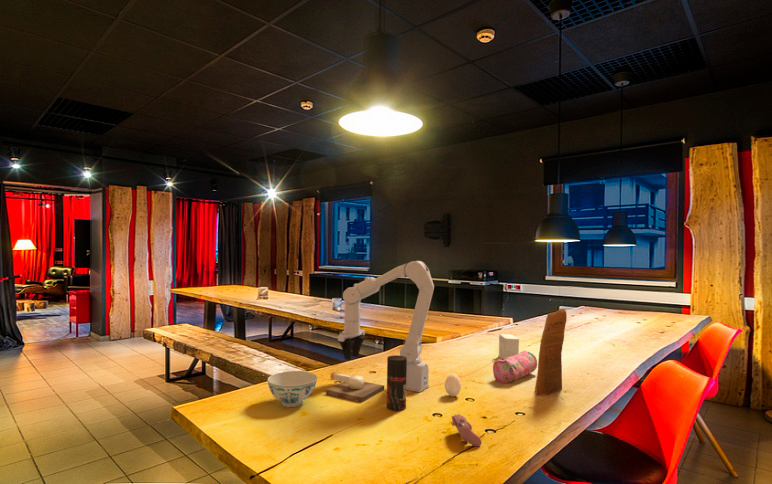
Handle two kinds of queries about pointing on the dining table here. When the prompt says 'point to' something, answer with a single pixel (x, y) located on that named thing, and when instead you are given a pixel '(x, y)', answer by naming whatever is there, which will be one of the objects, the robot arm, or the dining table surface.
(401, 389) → the deodorant
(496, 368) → the pencil case
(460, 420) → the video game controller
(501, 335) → the skincare box
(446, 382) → the egg
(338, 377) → the white joystick lever
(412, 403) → the dining table surface
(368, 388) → the flat rectangular base
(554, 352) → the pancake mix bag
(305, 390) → the chinaware
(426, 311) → the robot arm
